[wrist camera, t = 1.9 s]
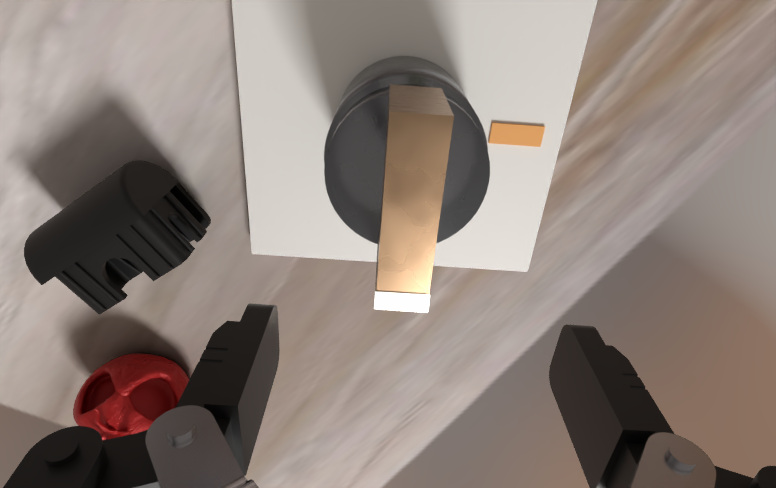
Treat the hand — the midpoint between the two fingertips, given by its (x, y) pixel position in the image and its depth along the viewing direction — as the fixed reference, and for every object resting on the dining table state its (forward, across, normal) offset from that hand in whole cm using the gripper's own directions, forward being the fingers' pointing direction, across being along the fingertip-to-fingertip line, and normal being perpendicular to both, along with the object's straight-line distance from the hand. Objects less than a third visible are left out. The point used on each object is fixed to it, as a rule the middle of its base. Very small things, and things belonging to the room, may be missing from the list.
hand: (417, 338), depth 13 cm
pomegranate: (+24, +22, +27) cm, 42 cm away
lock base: (+23, 0, 0) cm, 23 cm away
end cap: (+24, +20, +9) cm, 32 cm away
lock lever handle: (+14, 0, 0) cm, 14 cm away
